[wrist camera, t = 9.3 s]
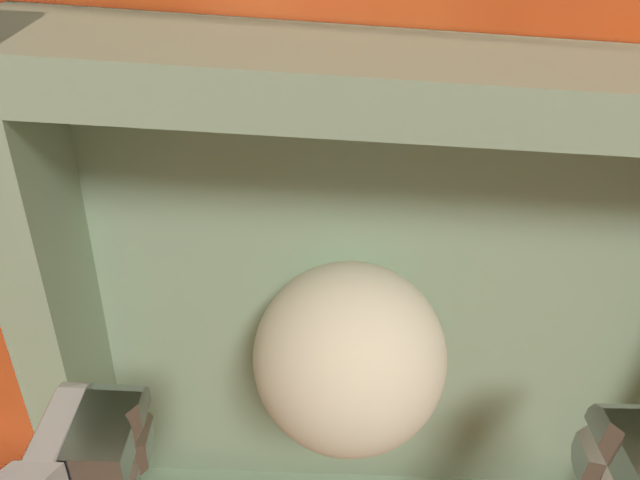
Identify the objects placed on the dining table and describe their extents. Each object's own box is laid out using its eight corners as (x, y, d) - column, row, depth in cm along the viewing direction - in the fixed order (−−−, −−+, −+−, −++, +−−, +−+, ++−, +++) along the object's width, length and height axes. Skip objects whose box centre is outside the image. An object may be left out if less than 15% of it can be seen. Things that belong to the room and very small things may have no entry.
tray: (845, 58, 11) (993, 117, 9) (603, 485, 19) (646, 580, 17) (5, 1, 11) (-89, 48, 8) (108, 468, 19) (76, 565, 16)
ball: (460, 237, 13) (474, 377, 9) (428, 368, 15) (430, 517, 12) (277, 213, 13) (227, 339, 10) (273, 344, 15) (231, 482, 12)
